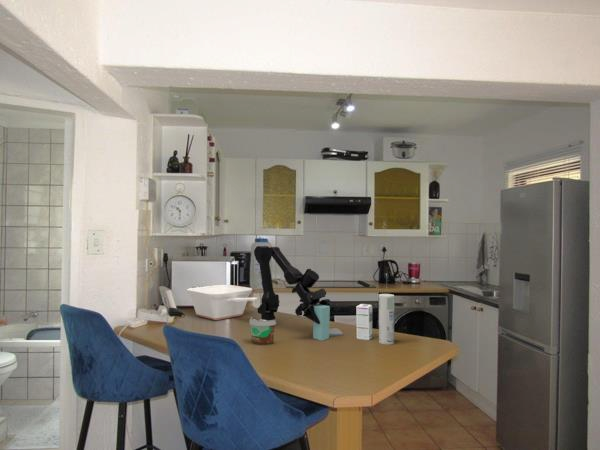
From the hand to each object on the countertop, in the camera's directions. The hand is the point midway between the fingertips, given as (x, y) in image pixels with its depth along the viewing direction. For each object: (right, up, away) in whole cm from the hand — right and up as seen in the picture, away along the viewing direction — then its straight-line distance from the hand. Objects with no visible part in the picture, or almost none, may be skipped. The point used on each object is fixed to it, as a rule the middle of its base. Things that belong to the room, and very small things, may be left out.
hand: (323, 322), depth 180 cm
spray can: (+26, -7, -5) cm, 28 cm away
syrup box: (+18, -7, +2) cm, 20 cm away
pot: (-48, -8, +41) cm, 64 cm away
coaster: (+3, -7, +11) cm, 13 cm away
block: (-1, -7, +1) cm, 7 cm away
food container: (-27, -7, -8) cm, 29 cm away
